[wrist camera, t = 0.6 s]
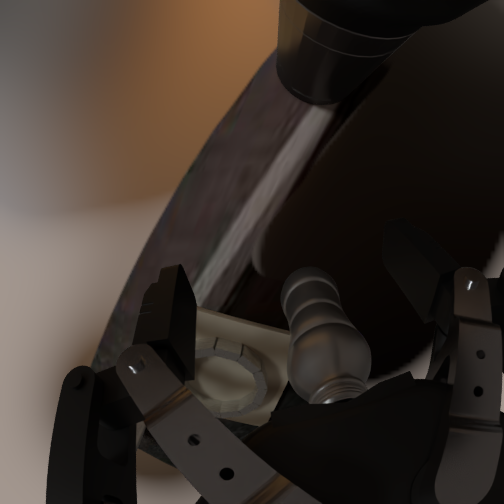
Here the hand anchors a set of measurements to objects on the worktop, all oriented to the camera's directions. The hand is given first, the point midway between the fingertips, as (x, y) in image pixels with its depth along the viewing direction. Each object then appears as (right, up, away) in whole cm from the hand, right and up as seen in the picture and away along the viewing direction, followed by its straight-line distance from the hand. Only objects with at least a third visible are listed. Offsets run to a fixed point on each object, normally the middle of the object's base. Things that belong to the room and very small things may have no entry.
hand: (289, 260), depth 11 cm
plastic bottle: (+5, -4, +23) cm, 24 cm away
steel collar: (-6, -16, +25) cm, 31 cm away
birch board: (-6, -16, +26) cm, 31 cm away
